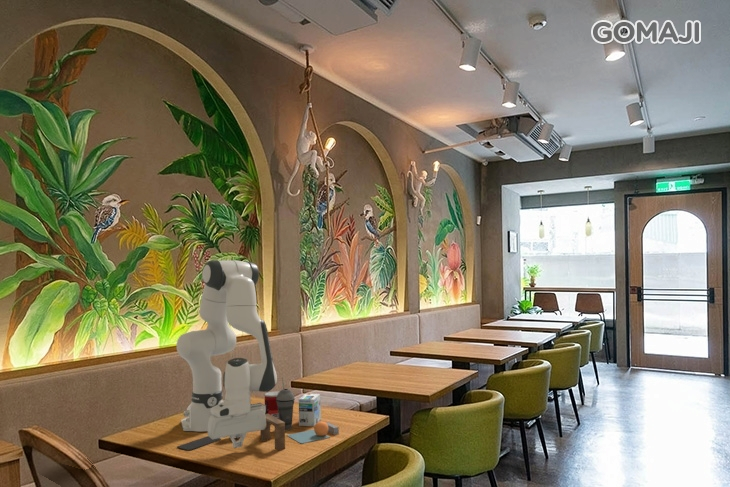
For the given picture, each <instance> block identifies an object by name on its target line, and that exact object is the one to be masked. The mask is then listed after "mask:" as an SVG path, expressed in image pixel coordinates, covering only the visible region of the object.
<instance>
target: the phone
mask: <svg viewBox="0 0 730 487" xmlns="http://www.w3.org/2000/svg"><path fill="white" fill-rule="evenodd" d="M221 440H222V438H218V439H211V438H210V437H209V436H208V435H207V436H204V437H201V438H198V439H195V440H192V441H189V442H185V443H183V444H180V445H178V446H177V447H176V449H179V450H182V451H186V452H191V451H194V450H197V449H201V448H203V447H205V446H208V445H210V444H214V443H217V442H219V441H221Z"/></svg>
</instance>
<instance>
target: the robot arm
mask: <svg viewBox="0 0 730 487" xmlns="http://www.w3.org/2000/svg"><path fill="white" fill-rule="evenodd" d="M201 277H202V278H201V279H202V282H203V284H204V287H203V291H202V294H201V300H200V306H199V311H198V314H199V316H200V318H201V319H202V321H204V322H206V323H207V327H206V329H199V330H191V331H189V332H185V333H183V334H181V335H180V336H178V338H177V341H176V351H177V353H178V354H177V355H179V357H181V358H182V359H184V360H185V361H186V362H187V364H188V365H189V367H190V370H191V373H192V392H191V399H190V400H191V403H190V404H189V405H188V407H187V408H186V410H184V411H183V417H185V418H182V419H180V420H181V421H180V422H181V423H180V425H181V426H182V430H183V431H184V432H199V433H200V432H207V436H209V437H210V438H211V439H218V438H220V439H222V438H227V437H229V439H230V440H231V441H232V448H234V449H236V448H237V449H238V448H242V447H244V446H243V445H244V444H243V443H244V441H245V438H246V436H247V434H248V433H253V432H257V431H260V430H264V429H265V427H266V417H265V412H266V407H265V403H262V402H257V403H251V398H252V396H251V392H260V393H261V392H265V393H267V392H271V390H272V389H274V388H275V386H276V385H277V382H278V375H277V371H276V368H275V364H274V359H273V354H272V347H271V343H270V338H269V337H270V336H269V332H268V327H267V324H266V322H265V320H264V319H262V318H260V317H261V316H259V313H258V311H257V293H256V287H255V286H256V285H257V283H258V282H259V279H260V272H259V268H258V266H257V264H256V263H253V262H250V261H241V260H236V259H234V260H233V259H231V260H227V259H226V260H218V259H213V260H209V261H207V262H206V263H205V264H204V265H203V268H202V272H201ZM229 325H230V326H231V327H232V328H234V329H235V330H237V331H240V332H242V333H246V334H248V335H251V336H252V337H254V338H255V339H256V341H257V342H258V347H259V352H260V359H261V362H260V363H253V364H252V363H251V364H249V360H248V359H247V358H243V357H235V358H231V359H229V360H228V361H226V365H225V370H224V372H222V371H221V369H220V368H219V367H217V366H216V365H214V364H212V360H211V357H216V356H220V355H225V354H227V353H230V352H231V351H233V350H234V349H235V347H236V346H237V335H236V333H235V332H234V331H233V329H231V327H230V326H229ZM222 373H223V375H222ZM222 378H223V379H222ZM222 384H223V387H222ZM222 388H224V389H225V394H224V393H223V389H222ZM223 396H224V397H223ZM223 399H224V400H223ZM238 434H240V435H241V437H240V438H238V439H239V440H237V441H236V439H237V438H236V435H238Z"/></svg>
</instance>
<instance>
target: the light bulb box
mask: <svg viewBox="0 0 730 487" xmlns="http://www.w3.org/2000/svg"><path fill="white" fill-rule="evenodd" d="M321 396H322V395H321V393H305V394H303V395H302V396H301V397H300V398H298V425H299V426H298V427H300V426H301V427H315V424H316V423H317V422H320V421H322V414H321V413H322V410H321V409H322V406H321V405H322V403H321V400H322V399H321Z"/></svg>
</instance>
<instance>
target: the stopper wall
mask: <svg viewBox="0 0 730 487" xmlns="http://www.w3.org/2000/svg"><path fill="white" fill-rule="evenodd" d="M326 423H327V425H328V432H327V433H329V434H332V435H334V436H335V435H339V432H340V431H339V430H340V429H339V426H337V425H335V424H332V423H330V422H326Z"/></svg>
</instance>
